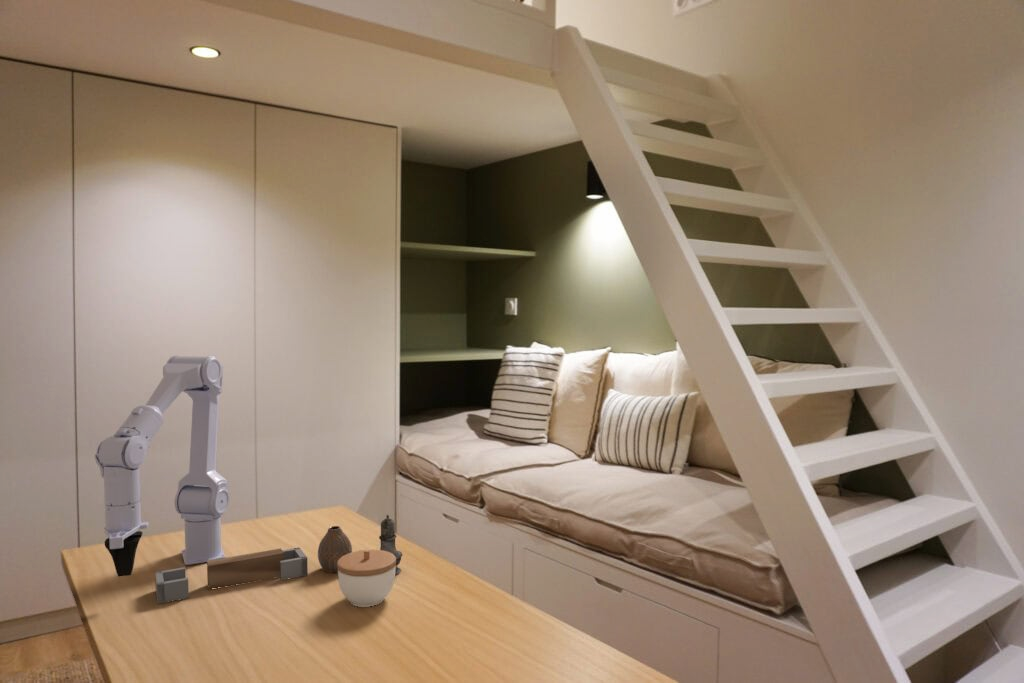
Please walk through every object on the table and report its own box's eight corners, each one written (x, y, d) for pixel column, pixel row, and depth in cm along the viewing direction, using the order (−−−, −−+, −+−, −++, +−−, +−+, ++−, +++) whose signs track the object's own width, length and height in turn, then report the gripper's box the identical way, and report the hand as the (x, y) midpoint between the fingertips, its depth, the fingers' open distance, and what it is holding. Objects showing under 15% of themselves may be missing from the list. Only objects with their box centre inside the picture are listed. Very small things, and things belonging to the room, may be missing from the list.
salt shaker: (407, 568, 145) (407, 511, 144) (394, 579, 139) (393, 520, 139) (382, 565, 147) (382, 509, 146) (368, 575, 141) (367, 517, 140)
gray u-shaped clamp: (155, 590, 134) (155, 572, 134) (185, 585, 136) (184, 567, 136) (157, 604, 128) (157, 585, 128) (188, 598, 130) (188, 579, 130)
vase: (356, 563, 148) (356, 522, 147) (345, 576, 141) (345, 533, 140) (325, 562, 148) (324, 522, 148) (312, 575, 142) (312, 532, 141)
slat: (207, 585, 137) (206, 560, 136) (281, 572, 144) (280, 548, 143) (209, 591, 134) (208, 566, 134) (284, 577, 141) (283, 552, 141)
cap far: (274, 568, 145) (273, 551, 145) (299, 564, 147) (299, 547, 147) (281, 580, 139) (280, 562, 139) (307, 575, 141) (307, 557, 141)
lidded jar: (407, 594, 132) (407, 545, 132) (373, 617, 122) (373, 565, 122) (361, 584, 137) (360, 537, 136) (325, 606, 127) (324, 556, 126)
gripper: (141, 510, 122) (143, 586, 123) (152, 489, 135) (154, 558, 136) (94, 514, 119) (97, 592, 120) (111, 493, 133) (113, 563, 134)
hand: (124, 574), depth 128 cm, fingers closed
